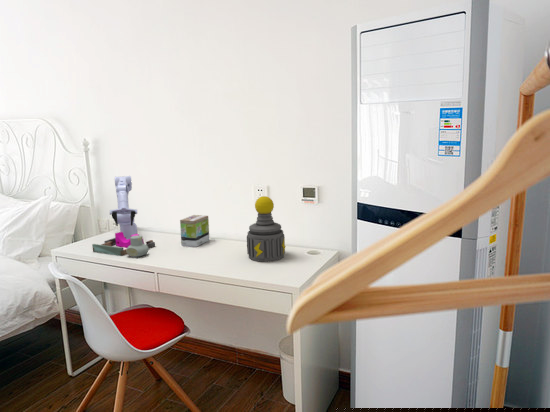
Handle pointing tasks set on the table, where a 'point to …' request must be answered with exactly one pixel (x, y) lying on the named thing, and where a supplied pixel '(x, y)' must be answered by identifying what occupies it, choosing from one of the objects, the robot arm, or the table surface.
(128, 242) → the toy block
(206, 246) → the table surface
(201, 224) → the tea box
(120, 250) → the trap channel
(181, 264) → the table surface
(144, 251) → the air freshener
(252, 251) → the decorative lamp
